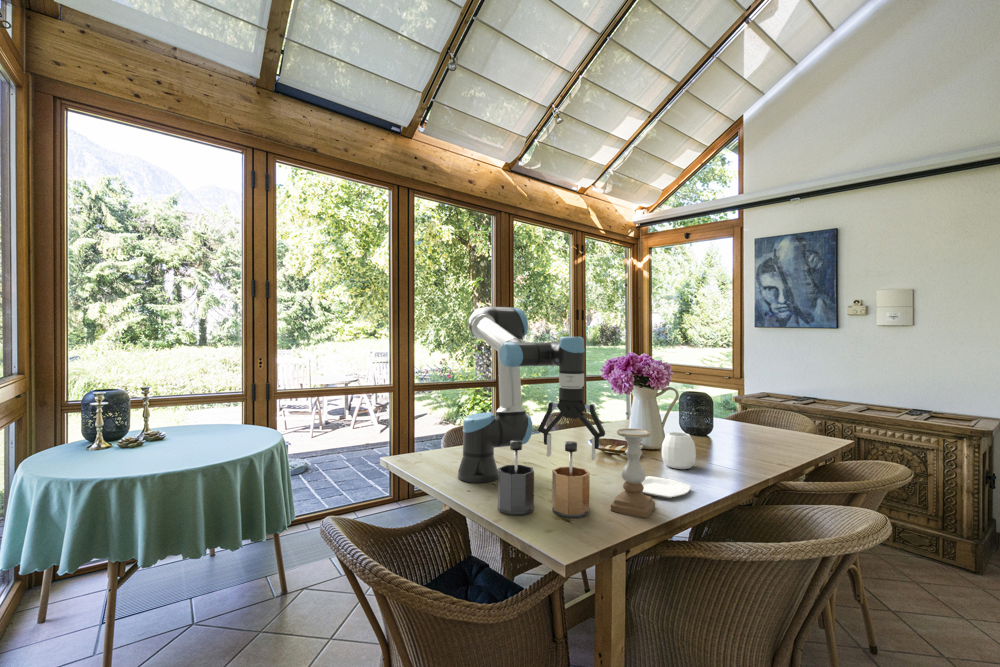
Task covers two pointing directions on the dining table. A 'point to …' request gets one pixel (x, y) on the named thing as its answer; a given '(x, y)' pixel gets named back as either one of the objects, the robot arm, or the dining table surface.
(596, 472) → the dining table surface
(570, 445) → the copper plunger
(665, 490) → the plate
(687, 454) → the cup
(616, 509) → the candle holder
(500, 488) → the steel carafe
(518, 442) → the steel plunger
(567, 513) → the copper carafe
